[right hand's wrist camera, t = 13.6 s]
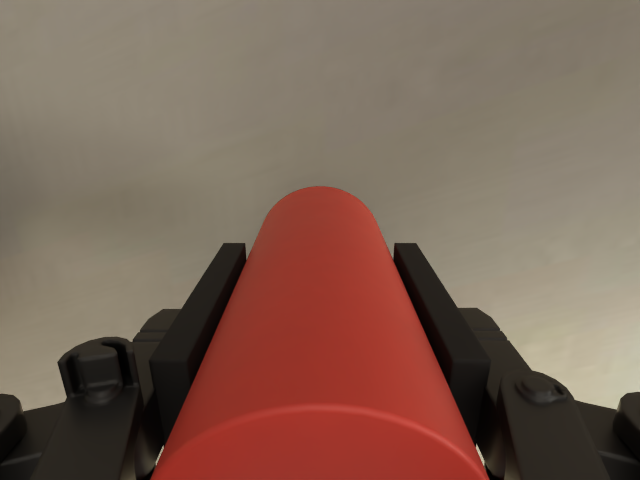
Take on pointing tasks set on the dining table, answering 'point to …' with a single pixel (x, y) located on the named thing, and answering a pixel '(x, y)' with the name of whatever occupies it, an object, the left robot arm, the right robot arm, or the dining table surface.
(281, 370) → the canister
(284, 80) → the dining table surface
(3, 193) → the dining table surface
